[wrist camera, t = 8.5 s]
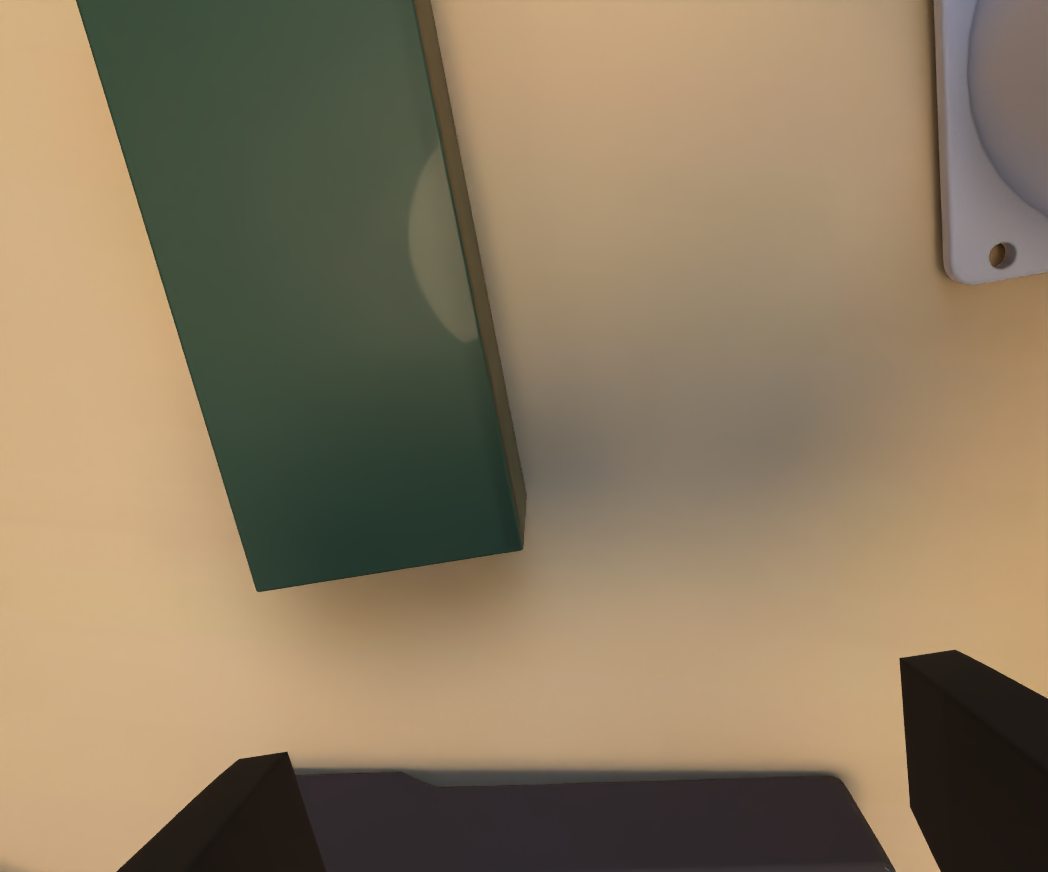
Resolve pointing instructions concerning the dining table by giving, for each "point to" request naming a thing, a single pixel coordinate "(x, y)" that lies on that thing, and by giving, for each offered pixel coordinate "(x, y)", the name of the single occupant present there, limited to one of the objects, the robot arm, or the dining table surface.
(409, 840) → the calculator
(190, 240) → the book
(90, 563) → the dining table surface
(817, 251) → the dining table surface
